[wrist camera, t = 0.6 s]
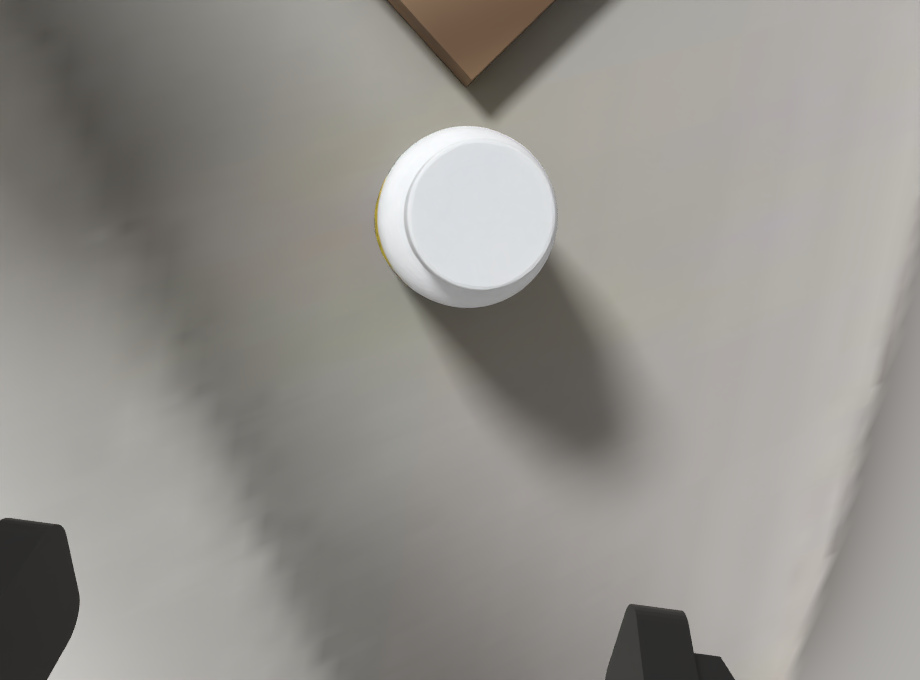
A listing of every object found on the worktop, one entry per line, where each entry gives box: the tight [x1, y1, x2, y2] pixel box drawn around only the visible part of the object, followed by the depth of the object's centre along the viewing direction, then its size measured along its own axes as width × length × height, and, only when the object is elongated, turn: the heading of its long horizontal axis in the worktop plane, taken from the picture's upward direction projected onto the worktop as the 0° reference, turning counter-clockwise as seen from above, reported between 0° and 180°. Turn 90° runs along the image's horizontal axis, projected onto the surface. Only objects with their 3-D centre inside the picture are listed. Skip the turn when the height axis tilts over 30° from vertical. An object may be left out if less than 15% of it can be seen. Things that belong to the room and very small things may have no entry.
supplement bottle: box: [374, 126, 558, 308], centre depth 27 cm, size 5×5×10 cm
